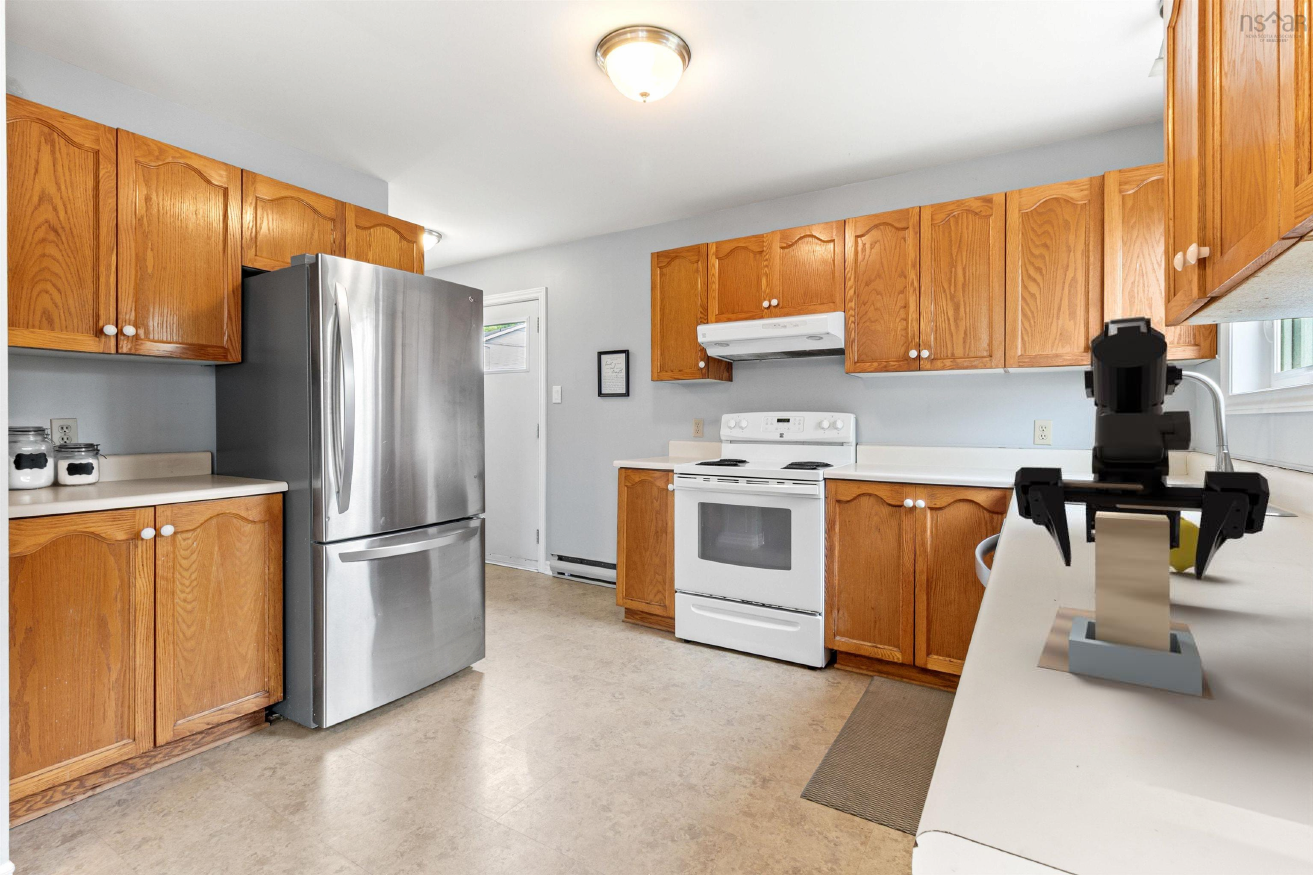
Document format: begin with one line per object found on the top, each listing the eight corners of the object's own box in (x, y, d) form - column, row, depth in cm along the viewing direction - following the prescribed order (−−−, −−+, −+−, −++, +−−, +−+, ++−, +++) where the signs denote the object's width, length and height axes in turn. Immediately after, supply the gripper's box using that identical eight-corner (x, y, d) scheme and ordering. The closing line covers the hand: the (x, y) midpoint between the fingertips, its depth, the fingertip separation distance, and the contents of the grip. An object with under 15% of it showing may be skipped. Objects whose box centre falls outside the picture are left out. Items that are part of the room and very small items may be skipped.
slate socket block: (1074, 644, 54) (1074, 616, 54) (1191, 664, 50) (1191, 633, 50) (1068, 671, 48) (1068, 639, 48) (1201, 696, 43) (1201, 660, 44)
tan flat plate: (1059, 615, 67) (1059, 606, 67) (1187, 633, 61) (1187, 623, 61) (1037, 678, 49) (1037, 665, 49) (1213, 713, 43) (1213, 699, 43)
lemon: (1155, 566, 92) (1155, 513, 92) (1204, 571, 89) (1204, 516, 89) (1155, 573, 88) (1154, 516, 88) (1207, 578, 85) (1206, 520, 85)
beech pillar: (1097, 653, 52) (1096, 511, 52) (1166, 665, 49) (1165, 515, 49) (1095, 669, 49) (1095, 516, 49) (1170, 683, 46) (1169, 521, 46)
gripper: (1016, 389, 64) (1000, 505, 56) (1265, 378, 53) (1294, 521, 44) (1026, 461, 71) (1012, 576, 62) (1250, 465, 60) (1272, 606, 51)
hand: (1130, 570), depth 55 cm, fingers open, 9 cm apart
